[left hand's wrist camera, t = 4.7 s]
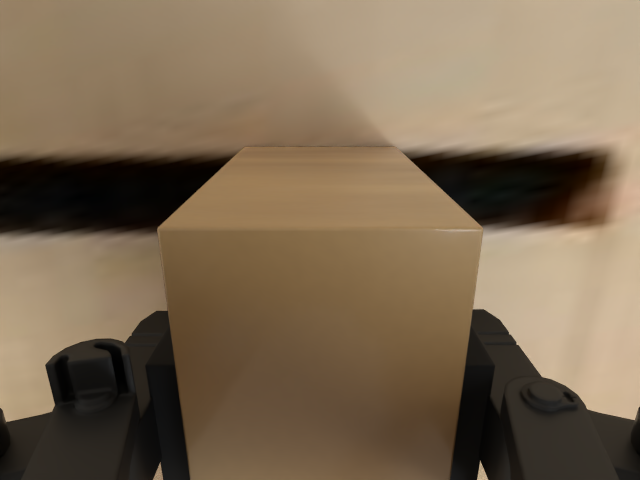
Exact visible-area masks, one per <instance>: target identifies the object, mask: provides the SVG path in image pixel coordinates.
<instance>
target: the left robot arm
mask: <svg viewBox="0 0 640 480" xmlns="http://www.w3.org/2000/svg"><path fill="white" fill-rule="evenodd" d="M45 366H46V370H47V374H48V378H49V382H50V386H51V390H52V394H53V398H54V402H55V407H54V409H53V411H52V412H50V413H46V414H42V415H38V416H33V417H29V418H24V419H19V420H15V421H10V422H6V420H5V417H4V414H3V411H2V409H1V408H0V480H153V478H154V476H155V473H156V471H157V468H158V466H159V464H160V462H161V468H162V474H163V480H190V474H189V466H188V459H187V451H186V444H185V436H184V429H183V421H182V413H181V406H180V398H179V391H178V383H177V376H176V368H175V361H174V353H173V345H172V338H171V330H170V323H169V315H168V311H156V312H154V313H153V314H151V315H150V316H148V317H147V318H145V319H144V320H142V321H141V322H140V323H139V325H138V326H137V327H136V329H135V330H134V331H133V333H132V336H130V337H129V338H128V340H127V341H126V342H125V343H123V342H122V341H119V340H115V339H94V340H89V341H84V342H80V343H78V344H75V345H72V346H70V347H67V348H65V349H64V350H62V351H60V352H59V353H57V354H56V355H54V356H53V357H52V358H51V359H50V360H49V361H48V363H47V364H46V365H45ZM480 461H481V463H482V465H483V468H484V470H485V473H486V475H487V477H488V480H640V407H639V409H638V412H637V415H636V418H635V420H630V419H626V418H621V417H616V416H612V415H607V414H602V413H598V412H594V411H591V410H587V408H586V406H585V404H584V403H583V401H582V400H581V399H580V397H579V396H578V395H577V394H576V393H574V392H573V391H572V390H570V389H569V388H568V387H566V386H565V385H562V384H560V383H558V382H556V381H553V380H551V379H547V378H543V377H541V375H540V374H539V373H538V371H537V370H536V368H535V367H534V366H533V364H532V363H531V362H530V360H529V359H528V358H527V356H526V355H525V353H524V352H523V351H522V349H521V348H520V347H519V345H516V341H515V340H514V339H513V337H512V336H511V335H509V332H508V330H507V329H506V328H505V326H504V325H503V324H502V322H501V321H500V320H499V319H498V318H496V317H495V316H493V315H492V314H490V313H488V312H487V311H485V310H484V309H473V311H472V318H471V326H470V333H469V341H468V348H467V356H466V364H465V371H464V379H463V386H462V394H461V401H460V409H459V416H458V424H457V431H456V439H455V446H454V454H453V461H452V469H451V476H450V480H477V476H478V470H479V464H480Z"/></svg>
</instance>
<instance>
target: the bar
mask: <svg viewBox="0 0 640 480" xmlns="http://www.w3.org/2000/svg"><path fill="white" fill-rule="evenodd" d="M157 232H158V240H159V247H160V255H161V262H162V270H163V277H164V285H165V293H166V300H167V308H168V315H169V323H170V330H171V338H172V345H173V353H174V361H175V368H176V376H177V383H178V391H179V398H180V406H181V413H182V421H183V429H184V436H185V444H186V451H187V459H188V466H189V474H190V480H450V476H451V469H452V461H453V454H454V446H455V439H456V431H457V424H458V416H459V409H460V401H461V394H462V386H463V379H464V371H465V364H466V356H467V348H468V341H469V333H470V326H471V318H472V311H473V303H474V296H475V288H476V281H477V273H478V266H479V258H480V251H481V243H482V235H483V228H482V227H481V226H480V225H479V224H478V223H477V222H476V221H475V220H474V219H473V218H472V217H471V216H470V215H469V214H467V213H466V212H465V211H464V210H463V209H462V208H461V207H460V206H459V205H458V204H457V203H456V202H455V201H454V200H452V199H451V198H450V197H449V196H448V195H447V194H446V193H445V192H444V191H443V190H442V189H441V188H440V187H438V186H437V185H436V184H435V183H434V182H433V181H432V180H431V179H430V178H429V177H428V176H427V175H426V174H425V173H423V172H422V171H421V170H420V169H419V168H418V167H417V166H416V165H415V164H414V163H413V162H412V161H411V160H409V159H408V158H407V157H406V156H405V155H404V154H403V153H402V152H401V151H400V150H399V149H398V148H397V147H244V148H243V149H242V150H241V151H239V152H238V153H237V154H236V155H235V156H234V157H233V158H232V159H231V160H230V161H229V162H228V163H227V164H226V165H224V166H223V167H222V168H221V169H220V170H219V171H218V172H217V173H216V174H215V175H214V176H213V177H212V178H210V179H209V180H208V181H207V182H206V183H205V184H204V185H203V186H202V187H201V188H200V189H199V190H198V191H197V192H195V193H194V194H193V195H192V196H191V197H190V198H189V199H188V200H187V201H186V202H185V203H184V204H183V205H182V206H180V207H179V208H178V209H177V210H176V211H175V212H174V213H173V214H172V215H171V216H170V217H169V218H168V219H166V220H165V221H164V222H163V223H162V224H161V225H160V226H159V227H158V229H157Z"/></svg>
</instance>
